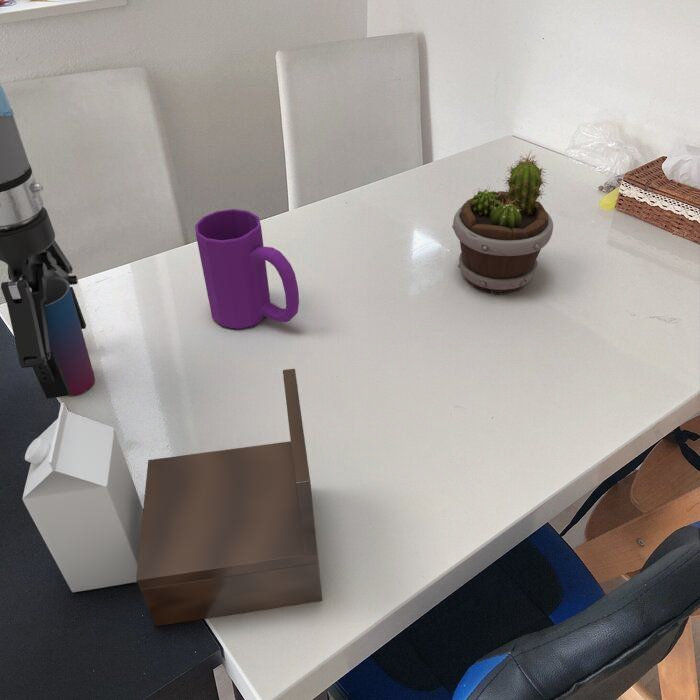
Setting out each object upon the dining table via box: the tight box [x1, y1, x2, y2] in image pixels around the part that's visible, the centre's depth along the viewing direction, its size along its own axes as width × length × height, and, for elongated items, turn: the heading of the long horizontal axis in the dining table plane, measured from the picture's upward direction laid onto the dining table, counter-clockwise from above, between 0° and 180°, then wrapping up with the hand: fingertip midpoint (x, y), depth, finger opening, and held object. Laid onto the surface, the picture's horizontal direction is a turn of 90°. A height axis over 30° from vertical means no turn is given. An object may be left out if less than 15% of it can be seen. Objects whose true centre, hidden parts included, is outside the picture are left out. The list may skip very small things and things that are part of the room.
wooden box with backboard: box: [136, 368, 323, 627], centre depth 65 cm, size 16×14×18 cm
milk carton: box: [22, 402, 144, 593], centre depth 64 cm, size 7×7×19 cm
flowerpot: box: [451, 150, 554, 294], centre depth 102 cm, size 14×15×20 cm
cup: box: [31, 276, 96, 397], centre depth 87 cm, size 7×7×15 cm
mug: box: [194, 208, 300, 330], centre depth 97 cm, size 9×16×15 cm, turn 58°
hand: (67, 360), depth 89 cm, fingers open, 13 cm apart
